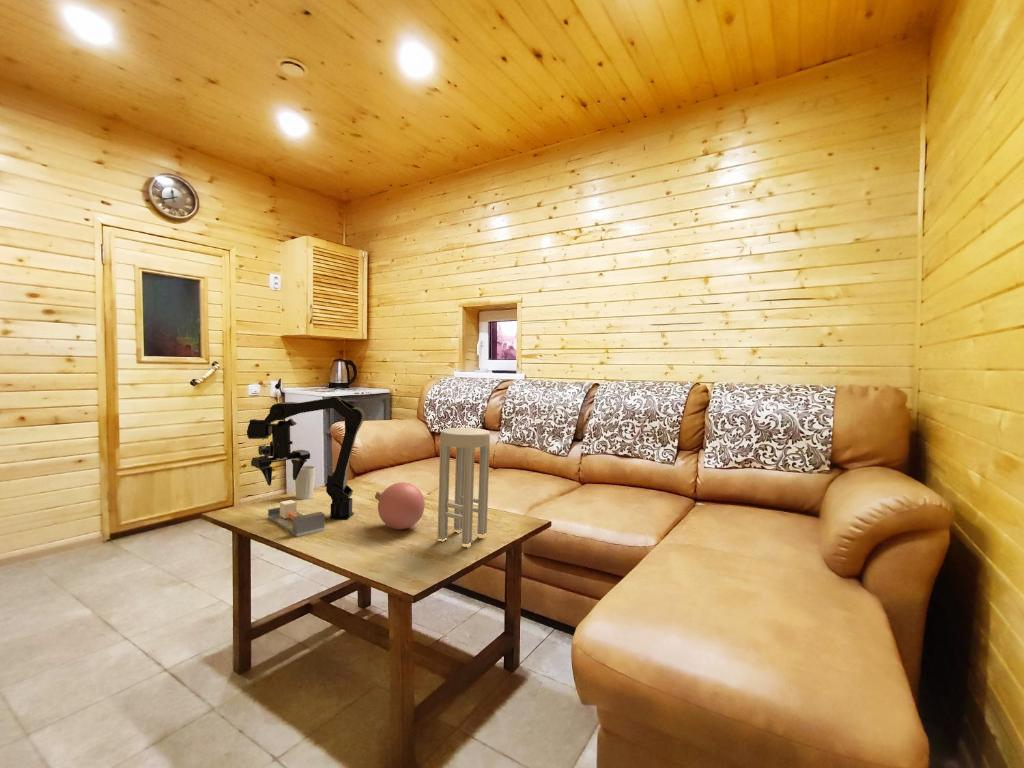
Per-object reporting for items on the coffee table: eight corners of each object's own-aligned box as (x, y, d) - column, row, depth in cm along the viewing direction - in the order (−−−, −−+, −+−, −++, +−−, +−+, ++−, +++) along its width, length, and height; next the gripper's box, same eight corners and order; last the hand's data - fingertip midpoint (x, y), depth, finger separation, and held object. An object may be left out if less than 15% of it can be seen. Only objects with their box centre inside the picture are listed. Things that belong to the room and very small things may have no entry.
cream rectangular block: (279, 515, 166) (280, 502, 165) (291, 513, 168) (291, 499, 168) (290, 522, 159) (290, 508, 159) (302, 519, 162) (302, 505, 162)
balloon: (394, 514, 175) (395, 473, 174) (433, 527, 163) (434, 482, 162) (359, 525, 162) (360, 480, 161) (398, 540, 150) (399, 491, 150)
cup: (309, 500, 188) (310, 470, 188) (289, 499, 188) (290, 469, 188) (318, 494, 196) (318, 466, 196) (299, 494, 196) (299, 465, 196)
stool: (456, 527, 164) (459, 426, 162) (495, 536, 156) (498, 430, 155) (428, 541, 150) (431, 431, 148) (469, 552, 143) (473, 436, 141)
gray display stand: (267, 518, 167) (268, 502, 166) (294, 512, 173) (294, 497, 173) (296, 537, 150) (296, 519, 150) (324, 530, 157) (324, 513, 156)
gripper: (293, 433, 179) (293, 474, 180) (242, 439, 163) (243, 484, 164) (310, 435, 173) (311, 478, 174) (259, 443, 157) (260, 489, 158)
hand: (282, 482), depth 167 cm, fingers open, 9 cm apart
